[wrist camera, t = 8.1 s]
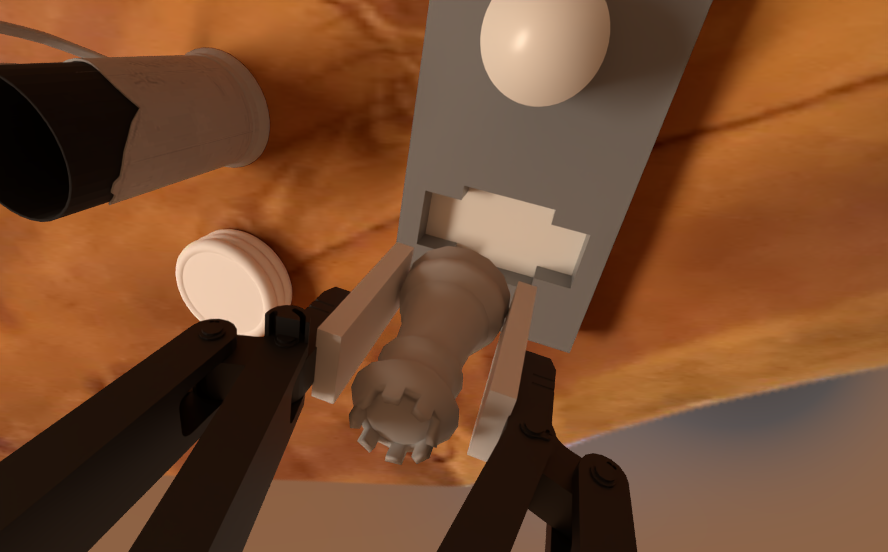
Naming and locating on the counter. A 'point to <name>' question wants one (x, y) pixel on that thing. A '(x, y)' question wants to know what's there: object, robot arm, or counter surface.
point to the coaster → (232, 280)
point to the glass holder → (119, 125)
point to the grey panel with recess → (540, 136)
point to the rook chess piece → (429, 353)
